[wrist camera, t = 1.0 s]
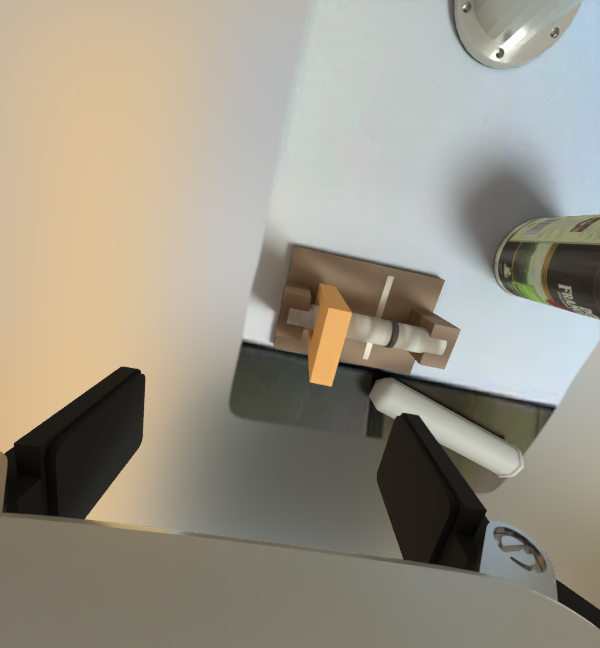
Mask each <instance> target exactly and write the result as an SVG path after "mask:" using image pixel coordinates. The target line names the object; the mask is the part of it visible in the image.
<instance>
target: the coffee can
mask: <svg viewBox="0 0 600 648" xmlns="http://www.w3.org/2000/svg"><path fill="white" fill-rule="evenodd" d="M494 272H495V276H496V279H497V282H498V283H499V285H500V286H501V288H502V289H503V290H504V291H506V292H507V293H509V294H511V295H513V296H517V297H522V298H526V299H529V300H533V301H536V302H540V303H543V304H547V305H550V306H554V307H557V308H561V309H564V310H568V311H571V312H574V313H578V314H581V315H585V316H588V317H592V318H595V319H599V320H600V215H583V216H568V217H553V218H545V217H544V218H536V219H532V220H529V221H527V222H525V223H523V224H521V225H519V226H518V227H516V228H515V229H514V230H513V231H511V232H510V233H509V234H508V236H507V237H506V238H505V239H504V240H503V242H502V244H501V245H500V247H499V249H498V251H497V254H496V258H495V263H494Z"/></svg>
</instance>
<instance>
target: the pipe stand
mask: <svg viewBox="0 0 600 648" xmlns="http://www.w3.org/2000/svg"><path fill="white" fill-rule="evenodd" d="M444 281H445V280H443V279H440V278H436V277H431V276H427V275H422V274H418V273H413V272H409V271H404V270H400V269H395V268H391V267H386V266H382V265H377V264H373V263H369V262H364V261H360V260H355V259H351V258H346V257H342V256H337V255H333V254H328V253H324V252H319V251H315V250H310V249H306V248H301V247H297V246H294V249H293V254H292V259H291V264H290V269H289V274H288V279H287V283H286V286H285V289H284V293H283V298H282V303H281V308H280V313H279V318H278V323H277V328H276V333H275V335H276V338H275V343H274V348H279V349H284V350H289V351H294V352H299V353H304V354H308V341H307V335H308V330H309V331H314V327H315V323H316V319H317V315H318V310H319V306H318V305H315V301H316V297H317V293H318V288H319V284H320V283H321V284H326V285H330V286H335V287H336V288H337V290H338V291H339V293H340V294H341V296H342V297H343V299H344V300H345V302H346V304H347V305H348V307H349V308H350V310H351V311H352V316H351V320H350V323H349V327H348V330H347V334H346V337H345V341H344V344H343V348H342V351H341V355H340V358H339V361H344V362H349V363H354V364H359V365H364V366H369V367H374V368H379V369H384V370H389V371H394V372H399V373H404V374H409V375H410V372H411V370H412V367H413V364H414V362H415V360H416V361H417V362H418V363H419V364H420V365H425V366H430V367H435V368H440V369H445V367H446V364H447V362H448V359H449V357H450V354H451V352H452V350H453V347H454V345H455V342H456V340H457V337H458V335H459V333H460V330H461V329H459V328H457V327H456V326H454V325H452V324H451V323H449V322H447V321H446V320H444V319H442V318H441V317H439V316H437V315H436V314H434V313H433V311H434V308H435V305H436V303H437V300H438V297H439V295H440V292H441V289H442V287H443V284H444Z"/></svg>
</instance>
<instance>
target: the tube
mask: <svg viewBox="0 0 600 648" xmlns="http://www.w3.org/2000/svg"><path fill="white" fill-rule="evenodd" d="M369 397H370V398H371V400H372V401H373V403H374V405H375V407H376V409H377V410H378V411H380V412H382V413H384V414H386V415H388V416H390V417H391V418H393V419H395V418H396V416H400V415H401V413H409V414H415V415H419V416H420V417H421V419H422V420H423V422H424V423H425V425H426V426H427V427H428V429H429V430H430V432H431V433H432V434H433V436H434V437H435V439H436V440H437V441H438V443H440V444H442V445H444V446H446V447H448V448H450V449H451V450H453V451H455V452H457V453H459V454H461V455H463V456H465V457H466V458H468V459H470V460H472V461H474V462H476V463H478V464H480V465H482V466H483V467H485V468H487V469H489V470H491V471H493V472H495V473H496V474H497V475H498V476H499V477H514V476H515V475H516V474H517V473H518V472H519V471H520V470H522V469H523V467H524V464H523V457H522V452H521V451H520V450H519V449H518V448H517V447H516V446H515V445H514V444H513V443H512V442H510V441H509V442H507V441H505V440H503V439H501V438H499V437H498V436H496V435H494V434H492V433H491V432H489V431H487V430H485V429H483V428H482V427H480V426H478V425H476V424H474V423H473V422H471V421H469V420H467V419H465V418H464V417H462V416H460V415H458V414H456V413H455V412H453V411H451V410H449V409H447V408H446V407H444V406H442V405H440V404H438V403H437V402H435V401H433V400H431V399H429V398H428V397H426V396H424V395H422V394H420V393H419V392H417V391H415V390H413V389H412V388H410V387H408V386H406V385H404V384H403V383H401V382H399V381H397V380H395V379H394V378H392V377H389V378H383V379H379V380H376V381H375V384H374V386H373V388H372V391H371V393H370V395H369Z"/></svg>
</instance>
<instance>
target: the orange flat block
mask: <svg viewBox="0 0 600 648" xmlns="http://www.w3.org/2000/svg"><path fill="white" fill-rule="evenodd" d="M315 305H318V306H319V310H318V315H317V319H316V323H315V327H314V331H309V330H308V335H307V341H308V359H309V377H310V382H311V383H317V384H322V385H327V386H332V383H333V380H334V376H335V373H336V369H337V365H338V362H339V358H340V355H341V351H342V348H343V344H344V341H345V337H346V334H347V330H348V327H349V323H350V320H351V316H352V311H351V310H350V308H349V307H348V305H347V304H346V302H345V300H344V299H343V297H342V296H341V294H340V293H339V291H338V290H337V288H336V287H335V286H330V285H326V284H321V283H320V284H319V288H318V293H317V297H316V301H315Z"/></svg>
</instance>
